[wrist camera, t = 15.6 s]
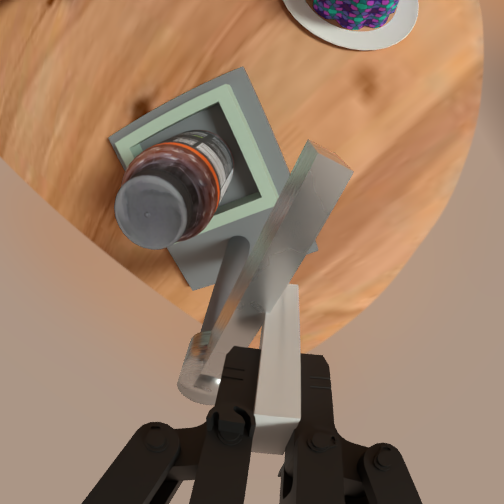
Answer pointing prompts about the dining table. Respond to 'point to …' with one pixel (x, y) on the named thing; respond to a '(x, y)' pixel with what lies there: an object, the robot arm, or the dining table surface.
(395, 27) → the pudding
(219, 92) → the socket base
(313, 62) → the dining table surface
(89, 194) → the dining table surface
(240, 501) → the robot arm
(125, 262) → the dining table surface
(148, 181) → the supplement bottle
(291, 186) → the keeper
